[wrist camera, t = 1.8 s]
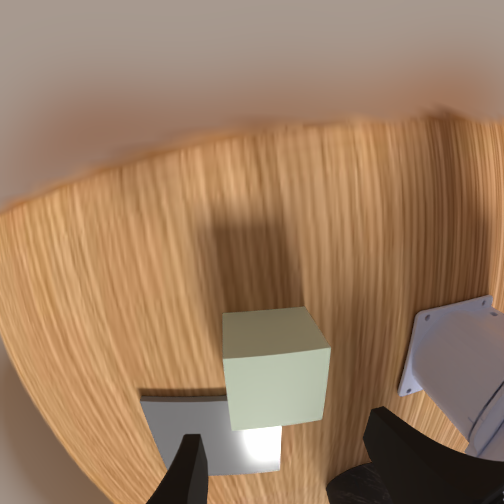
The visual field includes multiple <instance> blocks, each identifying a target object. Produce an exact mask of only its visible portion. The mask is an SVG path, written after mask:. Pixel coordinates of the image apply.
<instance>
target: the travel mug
mask: <svg viewBox="0 0 504 504" xmlns="http://www.w3.org/2000/svg"><path fill="white" fill-rule="evenodd" d="M326 491H327V495H328V499H329V503H330V504H393V502H392V499H391V497H390V494H389V492H388V490H387V488H386V486H385V485H384V483H383V481H382V479H381V477H380V475H379V474H378V472H377V470H376V468H375V466H374V464H373V463H368V464H364V465H360V466H357V467H355V468H352V469H350V470H348V471H346V472H344V473H342V474H340V475H339V476H337V477H336V478H335V479H333V480H332V481H331V482H330V483H329V485H328V486H327V489H326Z"/></svg>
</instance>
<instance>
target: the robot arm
mask: <svg viewBox="0 0 504 504" xmlns="http://www.w3.org/2000/svg"><path fill="white" fill-rule="evenodd" d="M492 301H493V297H492V296H491V295H485V296H482V297H478V298H474V299H470V300H467V301H463V302H458V303H454V304H450V305H446V306H442V307H437V308H433V309H428V310H423V311H420V312H419V313H417V315H416V317H415V321H414V326H413V331H412V336H411V341H410V345H409V350H408V354H407V358H406V362H405V366H404V370H403V374H402V378H401V381H400V385H399V388H398V392H397V393H398V395H399V396H400V397H402V396H405V395H409V394H412V393H415V392H417V391H420V390H424V391H425V392H426V393H427V394H428V395H429V396H430V398H431V399H432V400H433V401H434V402H435V403H436V404H437V406H438V407H439V408H440V409H441V410H442V411H443V413H444V414H445V415H446V416H447V417H448V418H449V419H450V421H451V422H452V423H453V424H454V425H455V426H456V428H457V429H458V430H459V431H460V432H461V434H462V435H463V436H464V437H465V438H466V440H467V441H468V442H469V445H468V447H467V448H466V449H465V451H464V452H465V453H466V454H464V453H461V452H458V451H455V450H453V449H450V448H448V447H446V446H444V445H442V444H440V443H438V442H436V441H434V440H432V439H430V438H429V437H427V436H425V435H424V434H422V433H420V432H419V431H417V430H416V429H414V428H413V427H411V426H410V425H409V424H407V423H406V422H404V421H403V420H402V419H400V418H399V417H397V416H396V415H395V414H393V413H392V412H391V411H389V410H388V409H387V408H385V407H384V406H382V407H379V408H375V409H371V413H370V416H369V420H368V423H367V426H366V430H365V433H364V436H363V440H364V443H365V446H366V449H367V452H368V454H369V457H370V459H371V461H372V463H373V464H374V466H375V468H376V470H377V472H378V474H379V475H380V477H381V479H382V481H383V483H384V485H385V486H386V488H387V490H388V492H389V494H390V497H391V499H392V502H393V504H504V314H503V313H502V312H500V311H498V310H496V309H495V308H493V307H491V305H492ZM426 316H427V317H426ZM425 317H426V318H425ZM207 494H208V460H207V457H206V453H205V449H204V445H203V442H202V438H201V434H185V435H183V438H182V441H181V444H180V446H179V449H178V451H177V453H176V455H175V457H174V460H173V462H172V463H171V465H170V467H169V469H168V471H167V473H166V475H165V476H164V478H163V480H162V481H161V483H160V484H159V486H158V487H157V489H156V491H155V492H154V493H153V495H152V496H151V498H150V499H149V500H148V501H147V503H146V504H207Z"/></svg>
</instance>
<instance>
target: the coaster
mask: <svg viewBox="0 0 504 504" xmlns="http://www.w3.org/2000/svg"><path fill="white" fill-rule="evenodd" d="M140 403H141V406H142V409H143V412H144V414H145V417H146V420H147V422H148V425H149V428H150V430H151V433H152V435H153V438H154V440H155V443H156V445H157V447H158V450H159V452H160V454H161V457H162V459H163V461H164V463H165V466H166V468H167V470H168V469H169V467H170V465H171V463H172V462H173V460H174V457H175V455H176V453H177V451H178V449H179V446H180V444H181V441H182V438H183V435H185V434H201V438H202V442H203V445H204V449H205V453H206V457H207V460H208V476H214V475H238V474H251V473H262V472H271V471H279V470H280V451H281V426H278V427H269V428H260V429H249V430H236V431H232V429H231V422H230V414H229V407H228V399H227V395H225V396H202V397H153V396H141V399H140Z"/></svg>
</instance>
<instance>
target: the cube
mask: <svg viewBox="0 0 504 504" xmlns="http://www.w3.org/2000/svg"><path fill="white" fill-rule="evenodd" d="M222 333H223V365H224V374H225V383H226V391H227V399H228V407H229V414H230V422H231V429H232V431H236V430H249V429H260V428H269V427H278V426H285V425H292V424H299V423H305V422H311V421H317V420H322V416H323V409H324V402H325V395H326V387H327V379H328V371H329V362H330V352H331V347H330V345H329V344H328V342H327V340H326V339H325V337H324V336H323V334H322V333H321V331H320V329H319V328H318V326H317V325H316V323H315V322H314V320H313V318H312V317H311V315H310V314H309V312H308V311H307V309H306V307H305V306H302V307H292V308H282V309H271V310H259V311H246V312H231V313H222Z"/></svg>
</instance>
